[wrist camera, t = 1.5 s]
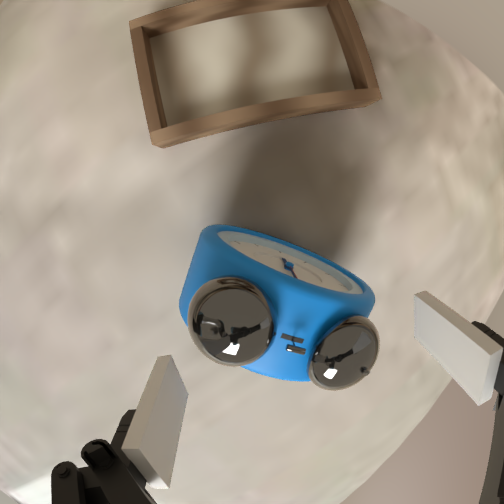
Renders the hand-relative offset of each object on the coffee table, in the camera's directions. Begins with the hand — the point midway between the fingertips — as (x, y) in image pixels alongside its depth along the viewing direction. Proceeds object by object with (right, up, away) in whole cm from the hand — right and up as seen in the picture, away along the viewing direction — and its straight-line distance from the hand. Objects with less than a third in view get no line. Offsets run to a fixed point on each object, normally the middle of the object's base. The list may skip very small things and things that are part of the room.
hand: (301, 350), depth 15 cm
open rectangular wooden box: (-2, +22, +9) cm, 24 cm away
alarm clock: (-1, +3, +14) cm, 15 cm away
